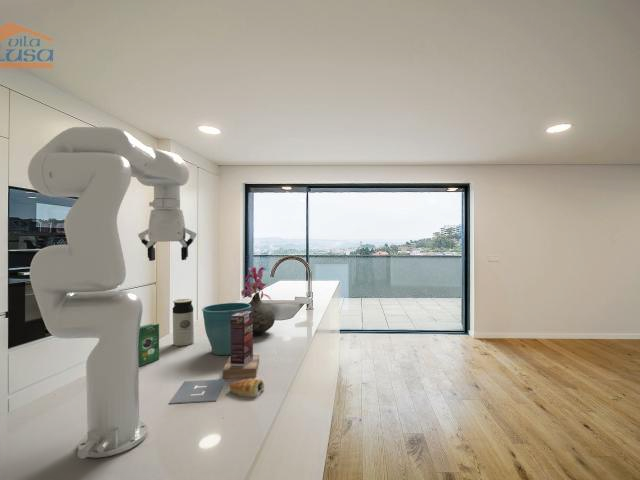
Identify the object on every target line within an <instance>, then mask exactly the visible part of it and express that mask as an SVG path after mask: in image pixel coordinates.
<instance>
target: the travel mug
mask: <svg viewBox="0 0 640 480" xmlns="http://www.w3.org/2000/svg"><path fill="white" fill-rule="evenodd" d="M172 302H173V305H174V306H173V307H172V342H173V343H172V344H173V345H174V346H177V347H184V346H185V347H186V346H189V345H192V344H193V343H195V332H194V331H195V330H194V326H195V325H194V323H195V322H194V306H193V304H192V302H193V299H192V298H178V299H173V301H172Z"/></svg>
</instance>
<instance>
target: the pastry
mask: <svg viewBox="0 0 640 480" xmlns="http://www.w3.org/2000/svg"><path fill="white" fill-rule="evenodd" d="M228 387H229V391H230V393H232V394H233V395H237V396H239V397H244V398H257V397H259V396H260V394H261V393H262V392H263V391H264V390H265V383H264V381H263V379H262V378H259V379H257V378H252V377H249V378H247V379H241V380H237V381H234V382H232V383H231V384H229V386H228Z"/></svg>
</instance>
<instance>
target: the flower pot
mask: <svg viewBox="0 0 640 480" xmlns="http://www.w3.org/2000/svg"><path fill="white" fill-rule="evenodd" d="M250 308H251V305H250V304H248V303H245V302H227V303H224V302H223V303H217V304H210V305H207V306H204V307H202V308H201V311H202V315H203V323H204V329H205V333H206V337H207V340H208V342H209V344H210V347H211V348H210V349H211V353H212V354H214V355H218V356H229V355H230V356H231V318H230V317H231V316H232V315H234V314H236V313H238V312H240V311H250Z"/></svg>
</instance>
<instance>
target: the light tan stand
mask: <svg viewBox="0 0 640 480" xmlns="http://www.w3.org/2000/svg"><path fill="white" fill-rule="evenodd" d="M228 356H229V355H228ZM259 364H260V355H259V354H253V358H252V359H251V360H250V361H249V362H248V363H247V364H246V365H245V366H244V367H237V366H231V355H230V356H229V357H228V359H227V361H226V363H225V365H224V367H223V369H222V379H232V378H233V379H237V378H252V377H254V378H255V377H257V373H258V369H259Z"/></svg>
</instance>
